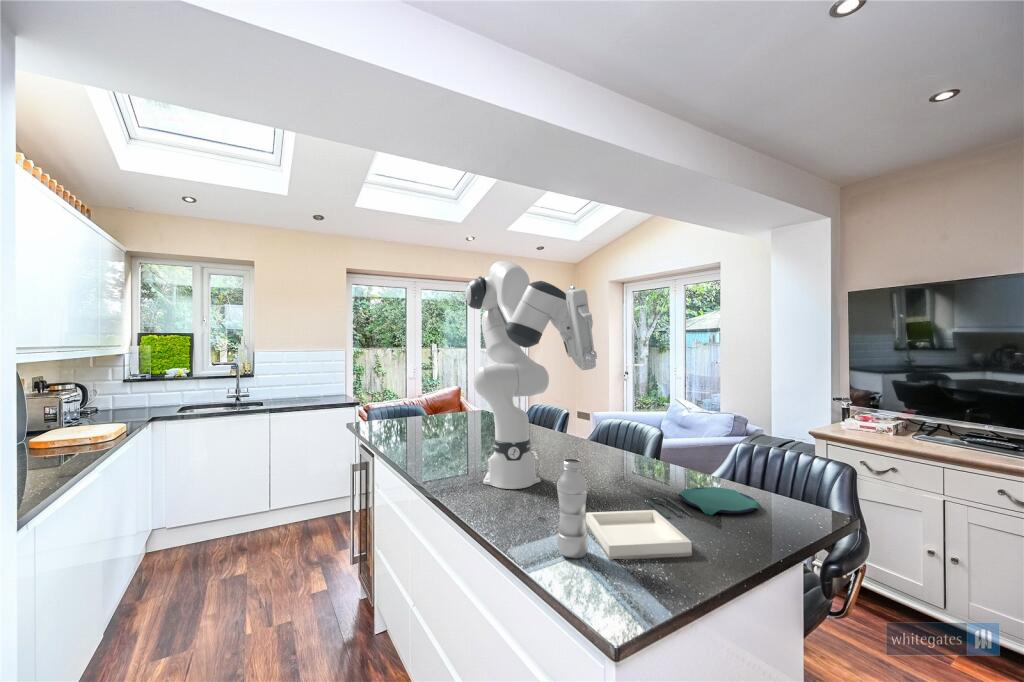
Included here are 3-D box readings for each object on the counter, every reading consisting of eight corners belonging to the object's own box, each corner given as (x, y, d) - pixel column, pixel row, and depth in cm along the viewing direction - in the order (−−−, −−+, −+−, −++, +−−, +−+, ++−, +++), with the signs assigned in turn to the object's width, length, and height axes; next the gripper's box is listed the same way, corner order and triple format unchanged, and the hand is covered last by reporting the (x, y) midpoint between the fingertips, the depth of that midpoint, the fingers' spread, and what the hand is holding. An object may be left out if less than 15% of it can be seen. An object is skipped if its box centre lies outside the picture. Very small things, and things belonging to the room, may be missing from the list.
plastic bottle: (585, 564, 87) (585, 466, 88) (553, 559, 90) (553, 463, 90) (591, 550, 93) (590, 458, 94) (560, 545, 96) (560, 455, 96)
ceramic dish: (585, 524, 107) (585, 512, 107) (655, 521, 109) (654, 509, 109) (609, 560, 89) (609, 545, 89) (691, 556, 91) (691, 541, 91)
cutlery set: (775, 516, 113) (775, 507, 113) (668, 524, 109) (668, 515, 109) (727, 491, 133) (727, 484, 133) (635, 498, 128) (635, 490, 129)
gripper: (580, 281, 108) (599, 290, 95) (590, 356, 115) (609, 374, 101) (556, 286, 108) (571, 296, 95) (568, 361, 114) (583, 380, 101)
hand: (591, 337), depth 98 cm, fingers open, 8 cm apart
